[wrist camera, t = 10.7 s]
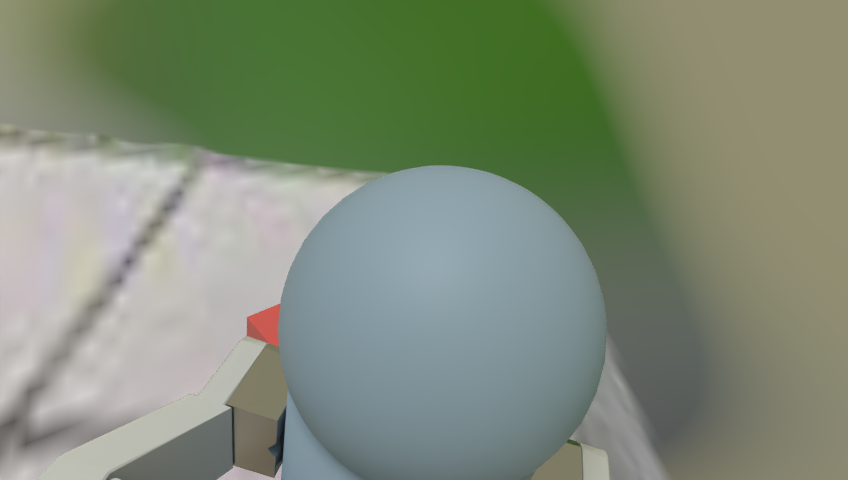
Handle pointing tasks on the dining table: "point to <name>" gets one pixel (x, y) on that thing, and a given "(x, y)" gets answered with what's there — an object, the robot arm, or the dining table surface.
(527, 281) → the pawn
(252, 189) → the dining table surface
